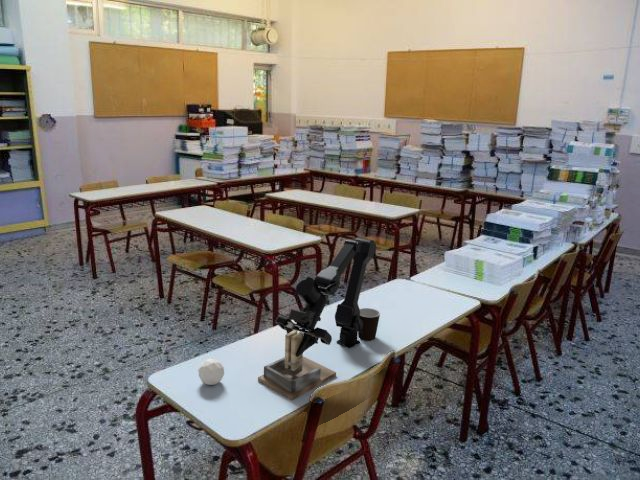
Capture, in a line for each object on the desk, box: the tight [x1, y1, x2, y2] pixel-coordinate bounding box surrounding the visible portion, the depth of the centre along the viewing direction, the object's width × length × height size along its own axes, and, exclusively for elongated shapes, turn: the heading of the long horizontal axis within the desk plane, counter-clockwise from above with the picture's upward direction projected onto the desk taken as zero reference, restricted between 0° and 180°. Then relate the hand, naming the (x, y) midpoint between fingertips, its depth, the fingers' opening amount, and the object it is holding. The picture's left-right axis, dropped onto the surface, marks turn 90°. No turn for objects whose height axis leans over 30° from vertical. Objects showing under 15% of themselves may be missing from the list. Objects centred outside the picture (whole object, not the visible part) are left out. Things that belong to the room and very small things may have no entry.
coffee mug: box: [357, 307, 381, 342], centre depth 193 cm, size 12×9×10 cm
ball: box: [197, 358, 225, 386], centre depth 157 cm, size 8×8×8 cm
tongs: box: [284, 330, 304, 377], centre depth 158 cm, size 5×4×13 cm
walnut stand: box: [257, 355, 337, 401], centre depth 162 cm, size 20×15×5 cm
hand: (291, 354), depth 157 cm, fingers closed on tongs, 3 cm apart
